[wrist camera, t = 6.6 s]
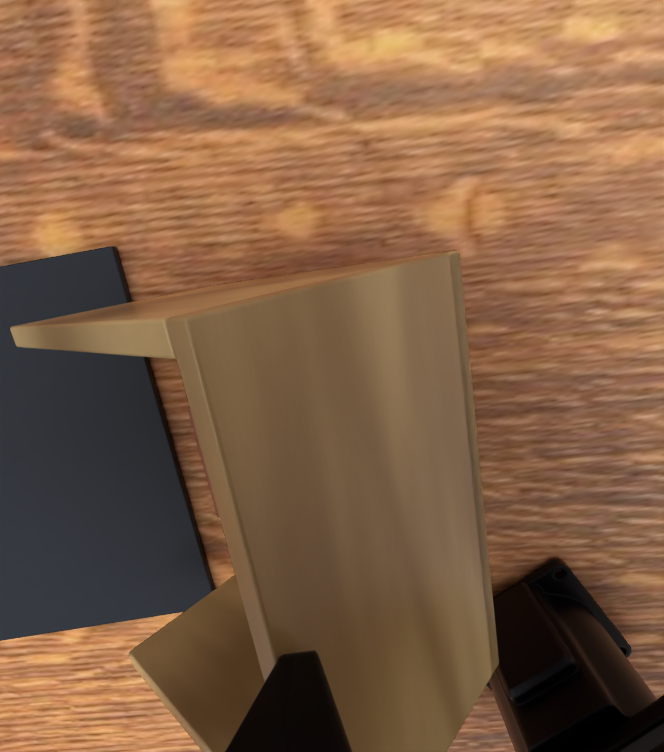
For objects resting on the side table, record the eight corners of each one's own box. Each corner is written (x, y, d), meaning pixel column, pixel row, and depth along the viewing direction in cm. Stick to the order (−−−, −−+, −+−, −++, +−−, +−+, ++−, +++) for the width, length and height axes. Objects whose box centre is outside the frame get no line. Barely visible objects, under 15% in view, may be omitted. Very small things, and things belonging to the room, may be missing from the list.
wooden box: (460, 249, 10) (185, 316, 6) (500, 663, 13) (343, 927, 9) (220, 283, 17) (8, 326, 13) (283, 551, 20) (132, 666, 16)
